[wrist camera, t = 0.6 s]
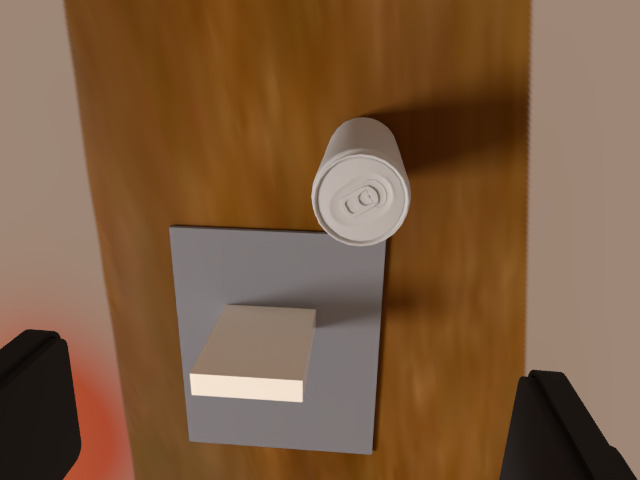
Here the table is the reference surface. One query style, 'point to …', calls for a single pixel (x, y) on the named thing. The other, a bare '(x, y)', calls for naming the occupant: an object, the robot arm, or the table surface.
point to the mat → (288, 292)
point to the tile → (256, 354)
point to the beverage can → (361, 184)
